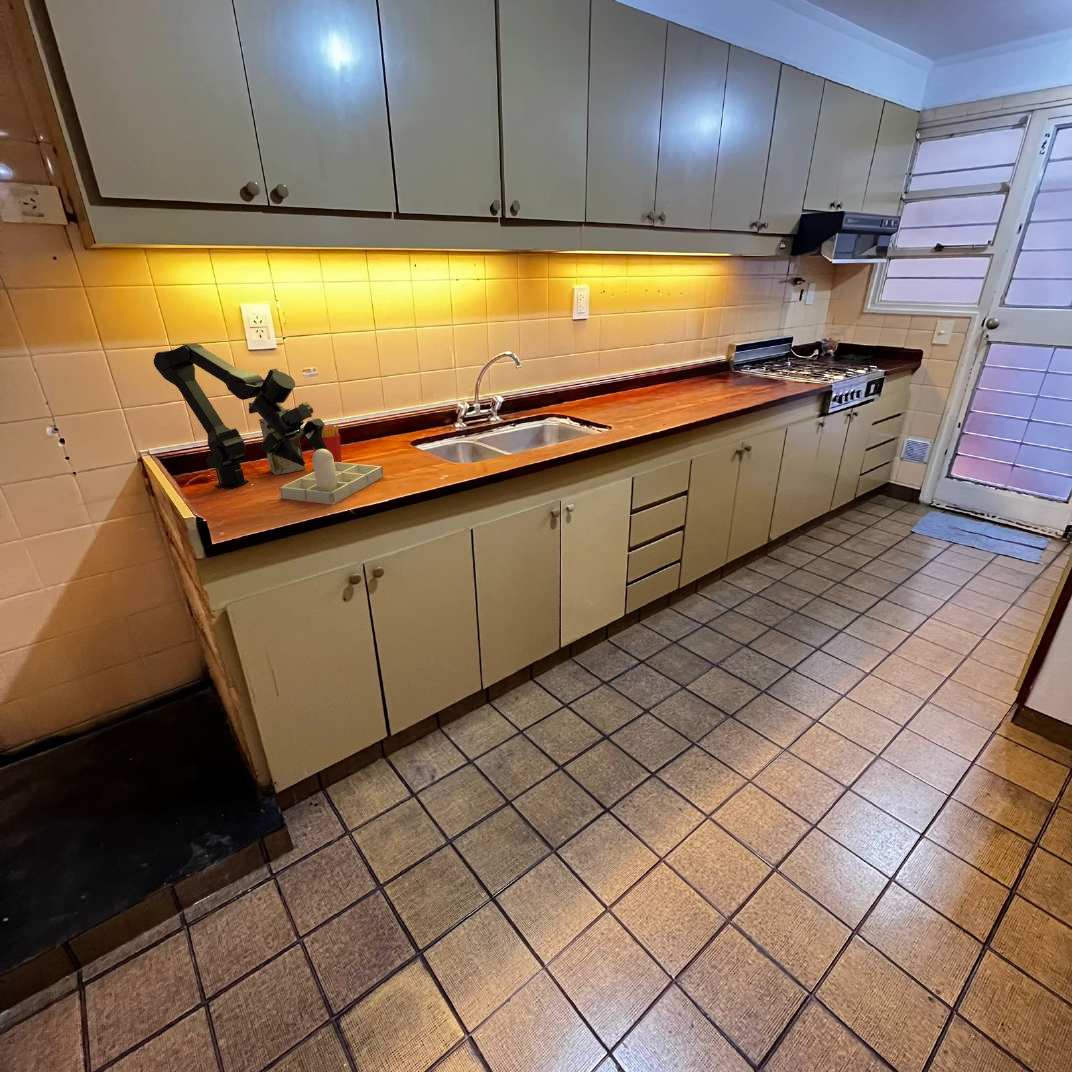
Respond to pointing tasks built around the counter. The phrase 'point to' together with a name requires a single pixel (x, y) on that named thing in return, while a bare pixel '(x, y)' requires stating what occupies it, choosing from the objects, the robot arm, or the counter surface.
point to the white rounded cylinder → (324, 470)
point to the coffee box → (279, 463)
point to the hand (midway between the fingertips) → (316, 459)
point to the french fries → (332, 441)
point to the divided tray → (347, 479)
